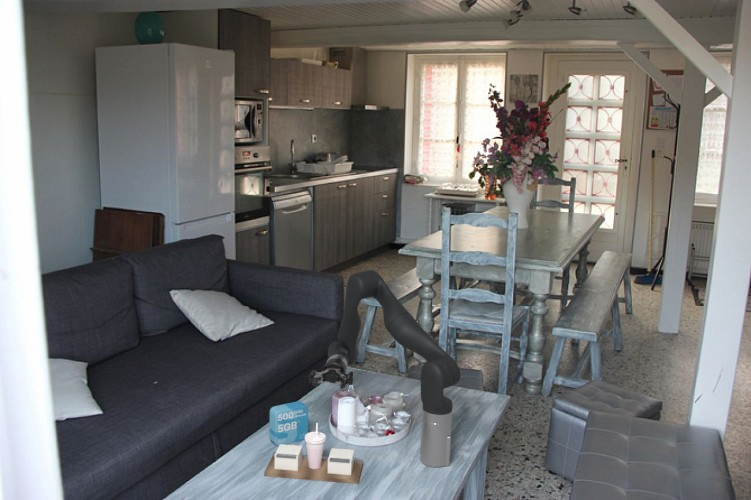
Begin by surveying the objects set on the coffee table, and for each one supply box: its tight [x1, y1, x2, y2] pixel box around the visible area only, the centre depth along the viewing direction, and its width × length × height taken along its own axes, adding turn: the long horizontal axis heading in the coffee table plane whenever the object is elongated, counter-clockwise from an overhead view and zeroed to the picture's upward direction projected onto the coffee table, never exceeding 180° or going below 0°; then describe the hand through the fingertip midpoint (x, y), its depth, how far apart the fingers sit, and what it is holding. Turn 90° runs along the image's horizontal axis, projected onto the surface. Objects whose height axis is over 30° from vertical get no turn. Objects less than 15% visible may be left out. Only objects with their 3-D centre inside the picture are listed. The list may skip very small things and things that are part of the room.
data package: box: [269, 400, 309, 447], centre depth 227 cm, size 12×4×12 cm, turn 123°
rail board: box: [263, 444, 364, 485], centre depth 209 cm, size 28×12×6 cm, turn 85°
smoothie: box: [304, 422, 327, 469], centre depth 208 cm, size 6×6×14 cm
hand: (328, 385), depth 220 cm, fingers open, 8 cm apart
